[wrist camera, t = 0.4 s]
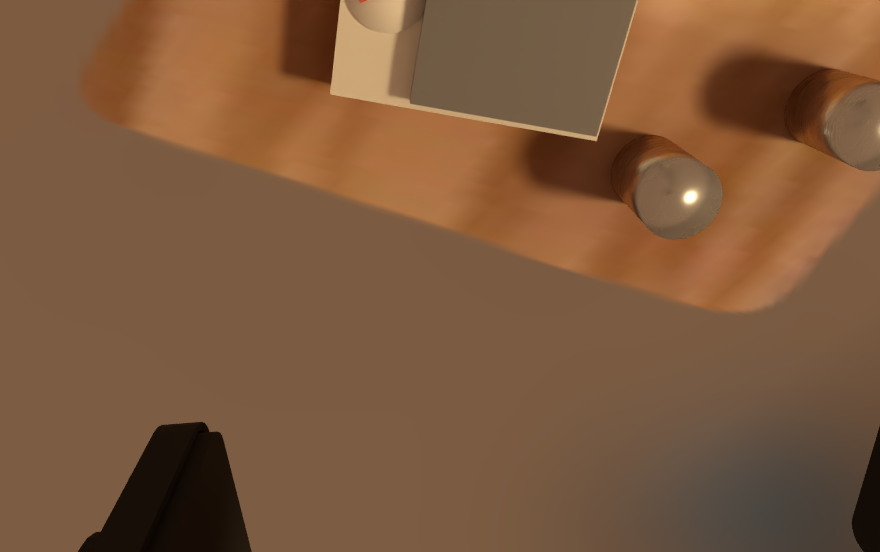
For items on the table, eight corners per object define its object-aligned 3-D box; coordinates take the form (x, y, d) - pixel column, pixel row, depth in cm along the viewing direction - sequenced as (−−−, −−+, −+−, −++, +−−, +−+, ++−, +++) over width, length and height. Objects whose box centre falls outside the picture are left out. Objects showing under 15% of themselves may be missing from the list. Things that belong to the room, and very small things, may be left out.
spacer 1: (623, 129, 42) (656, 155, 36) (692, 142, 42) (734, 169, 37) (602, 199, 44) (630, 233, 38) (668, 209, 44) (705, 244, 39)
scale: (360, -144, 34) (355, -156, 31) (643, -80, 36) (671, -84, 33) (334, 84, 40) (327, 98, 36) (584, 129, 42) (602, 146, 38)
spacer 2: (803, 62, 40) (865, 79, 35) (872, 76, 41) (942, 95, 36) (772, 137, 43) (826, 163, 37) (838, 149, 43) (900, 177, 38)
